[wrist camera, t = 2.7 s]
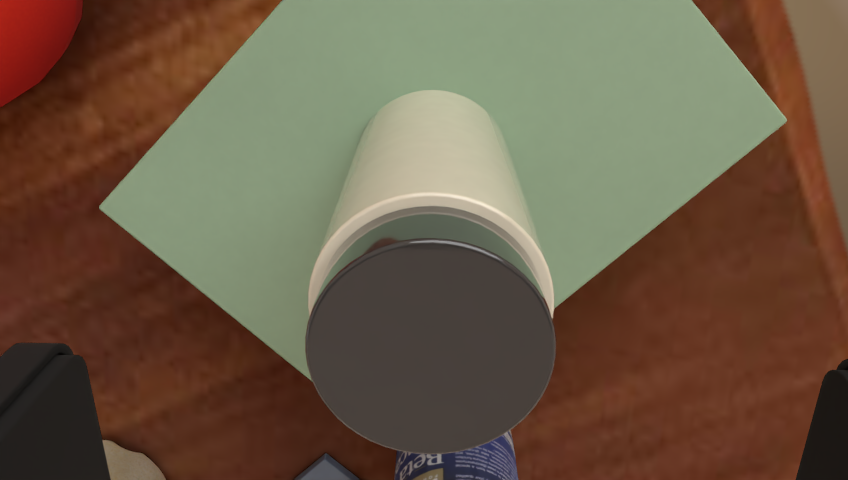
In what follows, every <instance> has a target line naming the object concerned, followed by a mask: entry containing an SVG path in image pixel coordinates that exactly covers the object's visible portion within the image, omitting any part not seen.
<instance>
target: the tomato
mask: <svg viewBox="0 0 848 480" xmlns="http://www.w3.org/2000/svg"><path fill="white" fill-rule="evenodd" d="M82 6H83V0H0V107H2V106H4V105H5V104H7V103H8V102H10V101H12V100H13V99H15V98H16V97H18V96H19V95H21V94H22V93H24V92H26V91H27V90H29V89H30V88H32V87H33V86H35V85H36V84H38V83H39V82H41V80H42V79H43V78H44V77H45V76H46V74H47V73H48V72H49V71H50V70H51V68H52V67H53V66H54V65H55V64H56V62H57V61H58V60H59V59H60V58H61V56H62V55H63V53H64V52H65V51H66V49H67V48H68V46H69V45H70V42H71V40H72V38H73V36H74V33H75V31H76V29H77V27H78V24H79V22H80V20H81V18H82Z"/></svg>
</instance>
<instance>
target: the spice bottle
mask: <svg viewBox="0 0 848 480" xmlns="http://www.w3.org/2000/svg"><path fill="white" fill-rule="evenodd" d="M308 311H309V321H308V324H307V330H306V336H305V353H306V360H307V366H308V369H309V373H310V376H311V379H312V381H313V383H314V385H315V388H316V390H317V392H318V394H319V395H320V397H321V398H322V400H323V401H324V403H325V405H326V406H327V407H328V408H329V409H330V410H331V412H332V413H333V414H334V415H335V416H336V417H337V418H338V419H339V420H340V421H341V422H342V423H344V424H345V425H346V426H347V427H349V428H350V429H351V430H353V431H354V432H356V433H357V434H359V435H361V436H362V437H364V438H366V439H368V440H370V441H372V442H374V443H377V444H379V445H382V446H384V447H387V448H391V449H394V450H398V451H403V452H408V453H415V454H447V453H454V452H460V451H464V450H468V449H472V448H475V447H478V446H481V445H483V444H486V443H489V442H490V441H492V440H494V439H496V438H498V437H500V436H502V435H504V434H505V433H507V432H508V431H510V430H511V429H513V428H514V427H515V426H516V425H517V424H519V423H520V422H521V421H522V420H523V419H524V418H525V417H526V416H527V415H528V414H529V413H530V412H531V411H532V410H533V408H534V407H535V406H536V404H537V403H538V401H539V400H540V398H541V397H542V395H543V393H544V391H545V389H546V387H547V385H548V383H549V381H550V378H551V375H552V372H553V369H554V363H555V357H556V335H555V328H554V324H553V314H554V289H553V281H552V278H551V274H550V271H549V267H548V264H547V261H546V258H545V255H544V252H543V250H542V247H541V244H540V241H539V238H538V235H537V232H536V229H535V226H534V223H533V220H532V217H531V214H530V211H529V208H528V206H527V203H526V200H525V197H524V194H523V191H522V188H521V185H520V182H519V179H518V176H517V173H516V170H515V167H514V164H513V162H512V159H511V156H510V153H509V150H508V147H507V144H506V141H505V138H504V136H503V134H502V132H501V130H500V128H499V126H498V125H497V123H496V122H495V120H494V119H493V118H492V117H491V116H490V114H489V113H488V112H486V111H485V110H484V109H483V108H482V107H481V106H479V105H478V104H477V103H475V102H474V101H472V100H470V99H468V98H466V97H464V96H461V95H459V94H456V93H452V92H448V91H441V90H422V91H417V92H412V93H409V94H406V95H403V96H401V97H399V98H396V99H394V100H392V101H391V102H389V103H388V104H386V105H385V106H384V107H382V108H381V109H380V110H379V111H378V112H377V113H376V114H375V115H374V116H373V117H372V118H371V120H370V121H369V122H368V124H367V126H366V127H365V129H364V131H363V133H362V135H361V137H360V139H359V142H358V145H357V148H356V151H355V153H354V156H353V159H352V162H351V164H350V167H349V170H348V173H347V176H346V178H345V181H344V184H343V187H342V189H341V192H340V195H339V198H338V201H337V203H336V206H335V209H334V212H333V214H332V217H331V220H330V223H329V226H328V228H327V231H326V234H325V237H324V240H323V242H322V245H321V248H320V251H319V253H318V256H317V259H316V262H315V265H314V268H313V271H312V274H311V277H310V283H309V289H308Z"/></svg>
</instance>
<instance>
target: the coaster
mask: <svg viewBox="0 0 848 480" xmlns="http://www.w3.org/2000/svg"><path fill="white" fill-rule="evenodd" d="M294 480H360V479H359V478H358V477H356V476H355V475H354V474H352V473H351V472H350V471H349V470H347V469H346V468H345V467H343V466H342V465H341V464H340V463H338V462H337V461H336V460H334V459H333V458H332V457H331V456H329V455H328V454H327V453H325V454H324V455H323V456H322V457H320V458H319V459H318V460H317V461H315V462H314V463H313V464H312V465H311V466H309V467H308V468H307V469H306V470H305V471H303V472H302V473H301V474H300V475H299V476H297V477H296V478H295V479H294Z"/></svg>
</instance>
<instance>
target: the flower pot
mask: <svg viewBox="0 0 848 480" xmlns="http://www.w3.org/2000/svg"><path fill="white" fill-rule="evenodd" d="M102 441H103V446H104V450H105V455H106V460H107V464H108V469H109V474H110V479H111V480H166V479H165V477H164V475H163V473H162V472H161V471H160V469H159V468H158V467H157V466H156V465H155V464H154V463H153V462H152V461H151V460H150V459H149V458H148V457H147V456H145V455H144V454H142V453H137V452H132V451H129V450H126V449H124V448H122V447H120V446H118V445H117V444H116V443H114V442H113V441H109V440H102Z"/></svg>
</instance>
